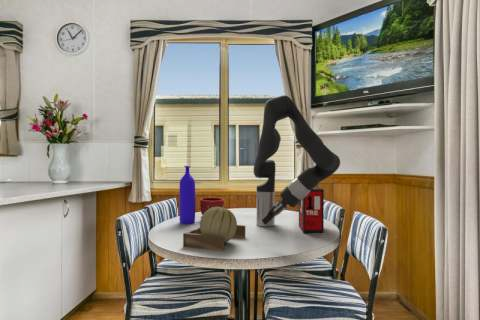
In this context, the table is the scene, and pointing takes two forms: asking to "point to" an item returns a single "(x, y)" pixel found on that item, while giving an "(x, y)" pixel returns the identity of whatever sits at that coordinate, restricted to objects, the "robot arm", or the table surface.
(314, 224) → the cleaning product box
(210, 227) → the cantaloupe
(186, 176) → the bottle
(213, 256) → the table surface
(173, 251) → the table surface
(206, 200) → the plant pot
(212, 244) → the wooden serving tray
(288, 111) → the robot arm
